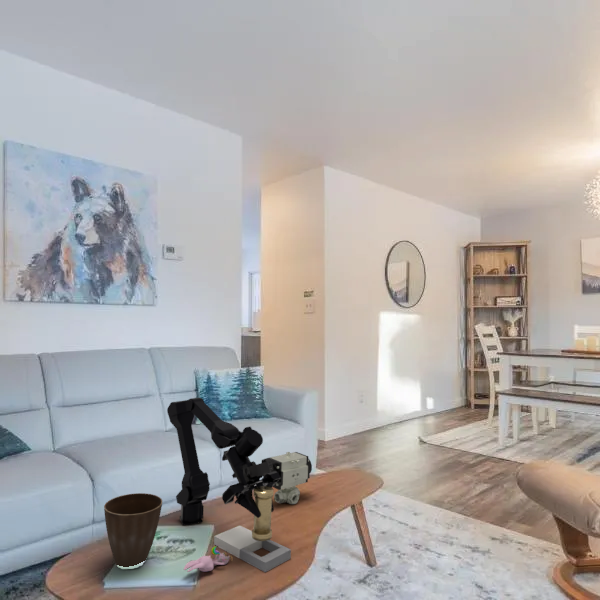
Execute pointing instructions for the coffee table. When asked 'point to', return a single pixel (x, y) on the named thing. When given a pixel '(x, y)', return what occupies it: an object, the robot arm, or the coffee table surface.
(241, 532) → the grey holder base
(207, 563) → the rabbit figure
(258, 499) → the brass fitting
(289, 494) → the ball valve
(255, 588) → the coffee table surface
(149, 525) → the plant pot
